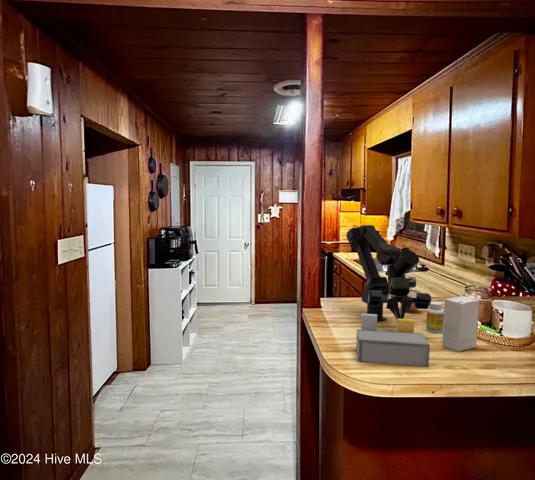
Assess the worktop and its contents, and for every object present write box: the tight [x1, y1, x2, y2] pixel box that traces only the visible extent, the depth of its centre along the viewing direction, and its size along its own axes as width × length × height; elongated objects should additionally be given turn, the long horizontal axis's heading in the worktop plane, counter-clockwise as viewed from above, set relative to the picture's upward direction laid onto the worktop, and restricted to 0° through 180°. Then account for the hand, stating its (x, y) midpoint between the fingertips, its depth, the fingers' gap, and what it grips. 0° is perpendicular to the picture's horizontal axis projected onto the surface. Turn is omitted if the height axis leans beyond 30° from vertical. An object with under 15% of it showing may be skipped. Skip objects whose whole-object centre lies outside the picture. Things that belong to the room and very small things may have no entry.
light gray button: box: [360, 313, 378, 331], centre depth 114 cm, size 10×4×8 cm, turn 171°
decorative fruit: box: [398, 288, 422, 312], centre depth 154 cm, size 9×8×10 cm
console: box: [355, 329, 431, 368], centre depth 107 cm, size 9×18×6 cm, turn 81°
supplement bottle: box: [425, 301, 444, 334], centre depth 131 cm, size 5×5×10 cm
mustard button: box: [396, 318, 415, 333], centre depth 109 cm, size 10×4×8 cm, turn 171°
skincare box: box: [441, 295, 480, 352], centre depth 116 cm, size 8×6×15 cm
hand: (400, 323), depth 118 cm, fingers closed
